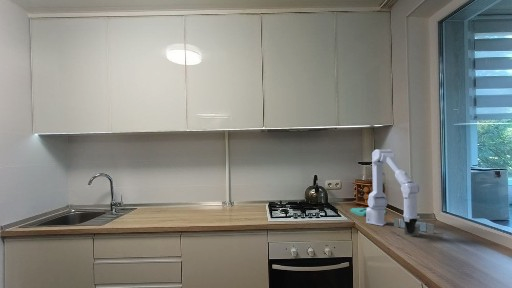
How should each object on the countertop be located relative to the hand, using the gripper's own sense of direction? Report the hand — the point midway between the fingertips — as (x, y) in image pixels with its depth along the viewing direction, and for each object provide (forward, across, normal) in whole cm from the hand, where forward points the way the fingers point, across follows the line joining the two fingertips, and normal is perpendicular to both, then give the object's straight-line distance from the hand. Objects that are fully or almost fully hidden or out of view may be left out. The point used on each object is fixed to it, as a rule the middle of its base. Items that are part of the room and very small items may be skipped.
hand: (410, 233), depth 136 cm
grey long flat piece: (+1, +13, +2) cm, 13 cm away
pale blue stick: (+1, +13, +1) cm, 13 cm away
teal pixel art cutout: (+2, +35, +34) cm, 49 cm away
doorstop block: (+2, +4, 0) cm, 5 cm away
